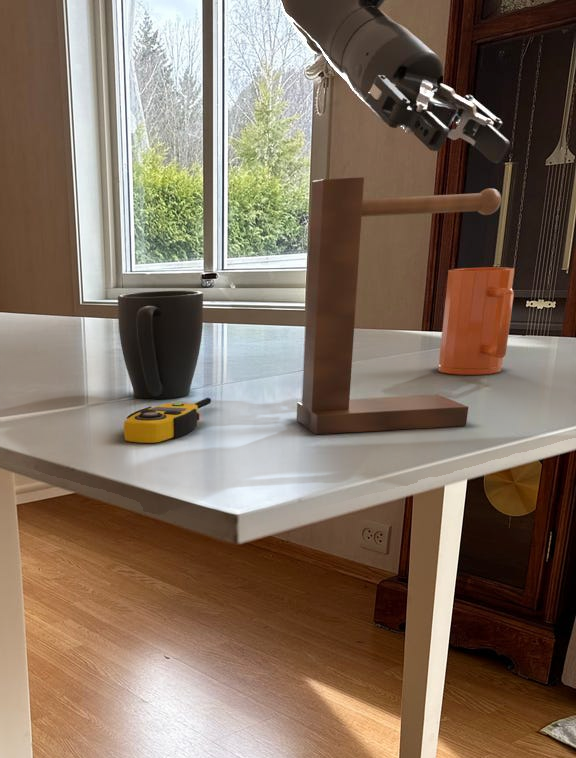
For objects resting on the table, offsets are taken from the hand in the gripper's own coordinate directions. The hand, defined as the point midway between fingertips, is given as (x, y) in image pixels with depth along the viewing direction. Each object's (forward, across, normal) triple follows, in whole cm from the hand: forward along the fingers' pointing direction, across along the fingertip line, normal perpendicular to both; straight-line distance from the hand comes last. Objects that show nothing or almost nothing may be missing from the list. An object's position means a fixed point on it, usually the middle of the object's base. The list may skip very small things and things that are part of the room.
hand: (472, 147), depth 91 cm
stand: (+28, -23, +11) cm, 38 cm away
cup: (+15, +2, +15) cm, 22 cm away
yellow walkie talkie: (+21, -36, +18) cm, 46 cm away
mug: (+10, -31, +24) cm, 40 cm away
